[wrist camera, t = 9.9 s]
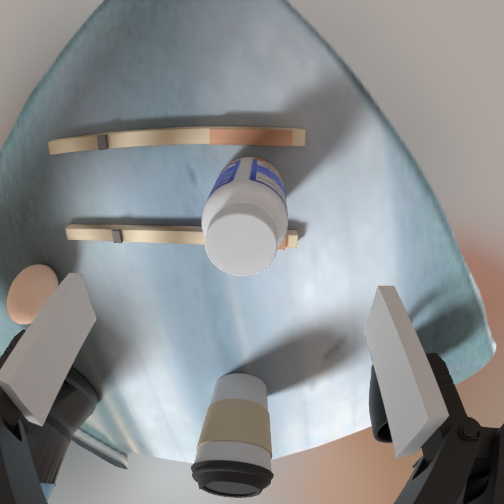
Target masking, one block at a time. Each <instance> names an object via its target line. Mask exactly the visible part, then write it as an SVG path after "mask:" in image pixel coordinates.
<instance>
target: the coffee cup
mask: <svg viewBox="0 0 504 504" xmlns="http://www.w3.org/2000/svg"><path fill="white" fill-rule="evenodd" d="M271 459H272V447H271V432H270V418H269V412H268V404H267V388H266V385H265V383H264V382H263V381H262V380H261V379H259V378H258V377H255V376H253V375H250V374H244V373H232V374H227V375H224V376H222V377H221V378H219V379H218V380H217V381H216V384H215V388H214V391H213V395H212V399H211V402H210V406H209V408H208V410H207V414H206V417H205V421H204V424H203V428H202V431H201V435H200V438H199V442H198V445H197V455H196V458H195V462H194V464H193V465H192V466H191V470H192V472H193V473H192V477H193V478H194V480H195V481H196V482H198V485H199V489H202V490H204V491H206V492H208V493H211V494H214V495H219V496H224V497H233V498H234V497H235V498H243V497H253V496H256V495H259V494H260V493H261V491H262V490H263V489H264V488H266V487H267V486H269V485H270V483H271V479H272V478H273V473H272V472H271Z"/></svg>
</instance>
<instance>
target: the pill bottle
mask: <svg viewBox="0 0 504 504" xmlns="http://www.w3.org/2000/svg"><path fill="white" fill-rule="evenodd" d="M287 228H288V214H287V204H286V196H285V188H284V183H283V179H282V177H281V175H280V173H279V171H278V170H277V169H276V168H275V167H274V166H273V165H272V164H271V163H269V162H268V161H266V160H263V159H260V158H256V157H243V158H239V159H236V160H234V161H232V162H230V163H229V164H228V165H227V166H226V167H225V168H224V169H223V170H222V171H221V173H220V174H219V177H218V179H217V181H216V183H215V185H214V187H213V189H212V191H211V193H210V195H209V197H208V199H207V201H206V204H205V206H204V209H203V213H202V230H203V234H204V236H205V248H206V252H207V255H208V257H209V258H210V260H211V261H212V262H213V264H214V265H215V266H216V267H218V268H219V269H220V270H222V271H224V272H226V273H228V274H231V275H236V276H250V275H254V274H257V273H259V272H261V271H263V270H264V269H266V268H267V267H268V266H269V265H270V264H271V263H272V261H273V259H274V258H275V255H276V252H277V249H278V248H279V247H280V245H281V244H282V242H283V240H284V238H285V235H286V233H287Z"/></svg>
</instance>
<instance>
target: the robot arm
mask: <svg viewBox="0 0 504 504" xmlns="http://www.w3.org/2000/svg"><path fill="white" fill-rule="evenodd" d="M96 319H97V318H96V315H95V312H94V309H93V306H92V303H91V301H90V298H89V294H88V291H87V288H86V285H85V282H84V279H83V275H82V274H79V273H68V275H67V276H66V277H65V279H64V280H63V281H62V282H61V284H60V285H59V286H58V287H57V289H56V290H55V291H54V293H53V294H52V295H51V297H50V298H49V299H48V301H47V302H46V303H45V305H44V306H43V307H42V309H41V310H40V312H39V313H38V314H37V316H36V317H35V318H34V320H33V321H32V323H31V324H30V326H29V327H28V328H27V330H22V331H21V332H20V333H18V334H17V335H16V336H15V337H14V338H13V340H12V341H11V343H10V344H9V347H7V348H6V350H5V351H4V354H3V355H2V356H1V358H0V504H48V503H47V501H48V499H49V497H50V495H51V493H52V490H53V488H54V487H55V485H56V479H57V477H58V474H59V471H60V468H61V465H62V462H63V460H64V457H65V454H66V451H67V449H68V446H69V443H70V441H71V438H72V436H73V434H74V432H75V431H76V430H77V429H78V428H79V427H80V426H81V425H82V424H83V423H84V422H85V420H86V419H87V418H88V417H89V416H90V415H91V414H92V413H93V411H94V409H95V407H96V404H97V402H98V396H97V394H96V392H95V390H94V388H93V387H92V386H91V384H90V383H89V382H88V381H87V380H86V379H85V378H84V377H83V376H82V375H81V374H80V373H78V372H77V371H76V370H75V369H73V368H72V367H71V366H72V364H73V362H74V360H75V358H76V356H77V354H78V352H79V350H80V349H81V347H82V345H83V343H84V341H85V339H86V337H87V336H88V334H89V332H90V330H91V328H92V327H93V325H94V323H95V321H96ZM364 334H365V337H366V341H367V344H368V347H369V351H370V354H371V358H372V361H373V365H374V369H375V372H376V376H377V380H378V384H379V387H380V391H381V395H382V399H383V403H384V407H385V411H386V415H387V419H388V424H389V428H390V432H391V437H392V441H393V446H394V450H395V455H396V458H399V457H404V456H410V455H414V454H415V453H417V452H418V450H419V449H420V448H421V447H422V451H423V456H422V457H421V458H420V459H419V460H418V461H417V462H416V463H415V464H414V465H413V466H412V467H413V468H415V467H416V468H415V470H414V472H413V473H412V475H411V477H410V478H409V480H408V482H407V483H406V485H405V487H404V488H403V490H402V492H401V493H400V495H399V497H398V498H397V500H396V501H395V503H394V504H504V424H503V425H502V426H501V427H500V428H488V427H481V426H480V424H479V423H478V422H477V421H476V420H475V419H473V418H470V417H468V416H467V414H466V412H465V410H464V407H463V405H462V402H461V399H460V397H459V395H458V392H457V390H456V387H455V385H454V384H453V380H452V378H451V375H449V371H448V368H447V366H446V364H445V362H444V361H443V360H442V359H441V358H440V357H439V355H438V354H437V353H429V354H425V352H424V350H423V347H422V345H421V343H420V340H419V338H418V336H417V334H416V331H415V329H414V327H413V325H412V323H411V320H410V318H409V316H408V314H407V312H406V310H405V308H404V305H403V303H402V301H401V299H400V297H399V295H398V293H397V291H396V289H395V287H394V286H378V288H377V291H376V295H375V298H374V302H373V305H372V309H371V312H370V315H369V319H368V322H367V325H366V328H365V331H364Z"/></svg>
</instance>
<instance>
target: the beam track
mask: <svg viewBox="0 0 504 504" xmlns="http://www.w3.org/2000/svg"><path fill="white" fill-rule="evenodd" d="M305 138H306V130H305V129H300V128H282V127H254V126H199V127H171V128H153V129H139V130H127V131H116V132H107V133H98V134H89V135H82V136H74V137H67V138H61V139H54V140H52V141H50V142H48V147H49V153H50V155H53V154H60V153H68V152H77V151H86V150H96V149H98V150H104V149H108V148H119V147H134V146H151V145H175V144H210V145H266V146H289V147H292V146H304V147H305ZM65 231H66V235H67V239H68V240H96V241H114V243H122V242H123V241H124V242H152V243H178V244H204V245H205V236H204V234H203V230H202V227H199V226H161V225H107V224H69V225H68V226H67V227H66V228H65ZM297 241H298V232H297V230H287V233H286V235H285V238H284V240H283V242H282V244H281V245H280V247H279V248H278V249H283V250H285V248H297Z"/></svg>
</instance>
